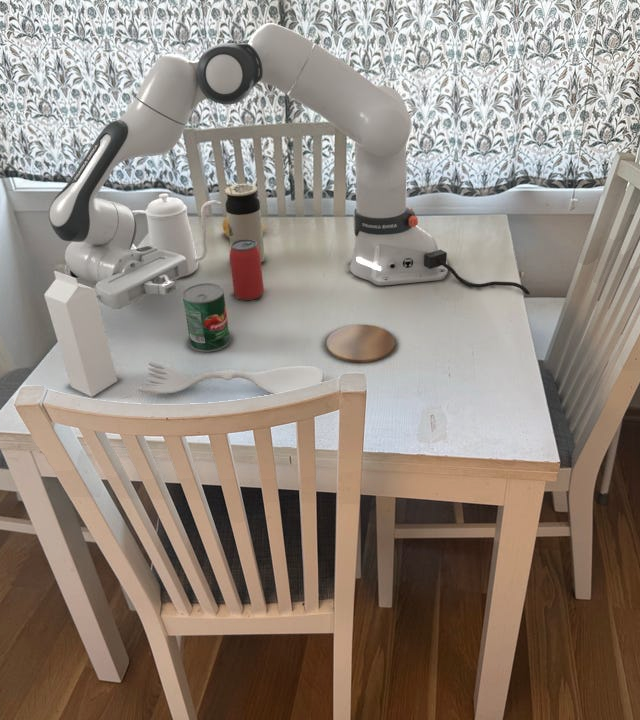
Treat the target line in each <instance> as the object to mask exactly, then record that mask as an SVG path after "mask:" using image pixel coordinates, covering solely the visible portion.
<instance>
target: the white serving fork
mask: <svg viewBox="0 0 640 720" xmlns="http://www.w3.org/2000/svg"><path fill="white" fill-rule="evenodd" d="M148 365H149V366H150V367H149V368H148V370H149V371H150V372H147V374H148V375H149V376H150V377H147V378H146V380H147V381H148V382H143V383H142V384H143V385H140V387H137V388H136V391H137V392H139V393H141V394H172V393H178V392H182V391H184V390H186V389H188V388H190V387H193V386H194V385H196V384H198V383H200V382H203V381H205V380H210V379H224V380H225V381H231V380H233V379H244V380H247V381H250V382H252V383H253V384H254V385H255V386H257V387H258V388H260V389H262V390H264V391H266V392H267V393H270V394H272V395H274V394H273V393H279V392H284V391H288V390H292V389H295V388H300V387H305V386H309V385H313V384H316V383H320V382H323V383H324V380H325V374H324V371H323V370H322V369H321V368H319V367H317V366H311V365H294V366H293V365H291V366H283V367H276V368H272V369H267V370H262V371H257V372H245V371H236V370H234V369H233V368H228V369H226V370H220V371H208V372H204V373H200V374H198V375H195V376H193V375H192V376H191V375H188V374H186V373H185V372H184V371H182V370H179V369H176V368H172V367H170V366H166V365H165V364H161V363H160V362H159V363H158V362H156V361H150V362H148Z"/></svg>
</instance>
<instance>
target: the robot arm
mask: <svg viewBox="0 0 640 720" xmlns="http://www.w3.org/2000/svg"><path fill="white" fill-rule="evenodd" d="M258 84H267V85H269V86H272V87H273V88H274V89H277V90H278V91H280V92H281V93H283V94H284V95H287V96H288V97H289V98H291V99H293V100H295V101H296V102H298V103H299V104H301V105H303V106H304V107H305V108H307V109H310V110H311V111H312V112H314V113H316V114H317V115H318V116H320V117H321V118H323V119H325V121H327V122H328V123H329V124H331V125H332V126H333V127H335V128H336V129H337V130H338V131H340V133H342V134H344V135H345V136H346V137H348V138H349V139H350V140H351V141H353V142H354V163H355V165H354V166H355V209H354V212H353V232H354V247H353V253H352V258H351V261H350V265H349V271H350V272H351V273H352V275H354V276H356V277H357V278H360V279H363V280H366V281H369V282H371V283H373V284H374V285H376V286H390V285H393V286H394V285H403V284H412V283H423V282H434V281H441V280H444V279H445V278H446V277H447V275H448V273H449V272H450V273H451V274H452V275H453V277H454V278H455V279H456V280H457V281H458V282H460V283H461V284H463V285H465V286H467V287H471V288H478V289H479V288H481V289H482V288H487V287H491V286H510V287H516V288H518V289H520V290H521V291H522V292H524V294H526V295H530V294H531V292H530V291H529V290H528V289H527V288H526V287H525V286H524V285H522V284H520V283H518V282H514V281H489V282H483V283H474V282H469V281H467V280H465V279H464V278H462V277H461V276H460V275H459V274H458V273H457V271H456V270H455V269H454V268H453V267H452V266H450V265H449V264H448V261H447V257H448V252H447V251H444V250H442V249H439V248H438V245H437V242H436V240H435V238H434V236H432V235H431V234H430V233H429V232H427V231H425V229H423V228H421V227H420V226H418V223H419V219H418V217H417V216H416V213H415V211H414V208H413V207H412V206H411V207H410V208H409V207H408V206H407V191H408V190H407V189H408V188H407V187H408V169H407V168H408V167H407V144H408V141H409V140H410V136H411V133H412V118H411V115H410V113H409V110H408V108H407V106H406V103H405V101H404V99H403V97H402V95H401V94H400V92H398V91H397V90H396V89H395V88H392V87H390V86H387V85H375V84H374V83H373V82H371V81H370V80H368V78H366V77H365V76H363V75H362V74H361V73H359V72H358V71H356V69H355V68H353V67H352V66H351V65H350V64H348V63H347V62H345V61H344V60H342V59H340V58H339V57H337V56H335V55H334V54H333V53H331V52H330V51H328V50H327V49H325V48H323V47H322V46H320V45H319V44H317V43H315V42H314V41H313V40H311V39H309V38H307V37H306V36H304V35H302V34H300V33H298V32H296V31H294V30H292V29H289V28H288V27H285V26H282V25H279V24H277V23H274V22H267V23H264V24H263V25H260V27H259V28H257V29H256V30H255V32H253V34H252V36H251V38H250V39H249V41H248V42H247V43H230V42H226V43H225V42H224V43H217V44H214V45H212V46H210V47H208V48H207V49H206V50H205V51H204V52H203V53H202V54H201V56H200V57H199V59H198V60H195V61H193V60H190V59H188V58H186V57H184V56H183V55H179V54H175V53H166V54H163V55H162V56H160V57H159V58H158V59H157V61H156V62H155V63H154V65H152V67H151V68H150V70H149V71H148V73H147V74H146V76H145V78H144V80H143V81H142V84H141V86H140V87H139V88H138V91H137V93H136V95H135V98H134V100H133V101H132V103H131V105H130V106H129V108H128V109H127V110H126V111H125V112H124V113H123V115H121V116H120V117H119V118H118V119H116V120H113V121H111V122H109V123H108V124H107V125H106V126H105V127H104V128H103V129H102V131H100V133H99V135H98V136H97V137H96V139H95V140H94V142H93V144H91V147H90V148H89V149H88V151H87V153H86V155H85V156H84V157H83V159H82V161H81V162H80V164H79V165H78V167H77V168H76V170H75V172H74V173H73V174H72V176H71V178H70V179H69V181H68V182H67V184H66V185H65V186H64V187H63V188H62V190H60V191H59V192H58V194H56V196H55V197H54V199H53V200H52V202H51V204H50V206H49V209H48V221H49V224H50V226H51V228H52V230H53V232H54V233H55V234H56V236H57V237H58V238H59V239H60V240H63V241H64V242H70V243H69V244H68V245H67V247H66V249H65V251H64V260H65V263H66V266H67V267H68V269H69V270H70V272H71V273H72V274H73V275H75V276H76V277H78V278H79V279H81V280H82V281H86V282H87V283H90V284H92V285H93V286H90V287H91V288H94V289H95V291H96V296H97V300H98V302H100V303H101V304H103V305H104V306H106V307H108V308H110V309H112V310H119V309H123V308H124V307H126V306H128V305H130V304H132V303H135V302H136V301H138V300H139V299H141V298H143V297H146V296H147V295H162V296H166V295H168V294H169V293H171V292H173V291H175V290H176V289H177V286H176V283H175V281H176V280H178V279H180V278H183V277H182V276H184V275H186V274H187V273H188V264H187V260H186V258H185V257H184V256H182V255H180V254H177V253H174V252H170V251H166V250H158V249H157V247H156V246H152V245H151V246H150V245H147V246H142V247H138V248H137V249H131V247H132V245H133V244H134V242H135V240H136V235H137V220H136V217H135V215H134V214H135V213H133V212H132V211H133V210H132V209H131V208H130V207H129V206H128V205H126V204H122V203H118V202H115V201H111V200H107V199H104V198H100V197H97V195H98V194H99V192H100V191H101V189H102V188H103V186H104V184H105V183H106V182H107V180H108V178H109V177H110V176H111V174H112V173H113V172H114V171H113V170H115V168H116V167H117V166H119V164H120V163H123V162H124V161H128V160H131V159H134V158H140V157H155V156H160V155H163V154H166V153H168V152H170V151H171V150H173V148H175V146H176V145H177V143H178V142H179V141H180V140H181V137H182V135H183V134H184V131H185V130H186V127H187V125H188V123H189V121H190V119H191V117H192V115H193V113H194V111H195V109H196V107H198V105H199V104H200V103H201V102H203V101H205V100H210V101H212V102H214V103H216V104H219V105H225V106H229V105H230V106H231V105H236V104H238V103H240V102H242V101H243V100H244V99H247V97H248V96H249V94H250V93H251V91H252V90H253V89H254V88H255V87H256V85H258ZM184 277H185V276H184Z"/></svg>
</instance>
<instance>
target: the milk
mask: <svg viewBox="0 0 640 720" xmlns="http://www.w3.org/2000/svg"><path fill="white" fill-rule="evenodd" d="M53 273H54V276H55V279H54V281H53V282H52V284H51V285H50V286H49V287H48V289H47V290H46V292H45V293H44V294H43V296H44V299H45V303H46V306H47V309H48V313H49V317H50V319H51V323H52V327H53V330H54V333H55V337H56V340H57V343H58V347H59V350H60V354H61V357H62V361H63V364H64V367H65V372H66V374H67V378H68V381H69V385H70V387H71V388H73V389H75V390H76V391H78V392H80V393H83V394H85V395H87V396H89V397H91V398H93V397H94V396H96V395H97V394H99V393H100V392H102V391H104V390H106V389H108V388H109V387H110V386H112V385H113V384H116V383H117V382H118V377H117V372H116V369H115V365H114V361H113V357H112V353H111V349H110V346H109V340H108V337H107V332H106V329H105V325H104V320H103V316H102V312H101V308H100V304H99V299H98V298H97V296H96V291H95V289H94V288H91V287H92V286H87V285H85V284H83V283H79V282H78V280H77V278H76V277H74V276H71V275H68V274H65V273H63V272H60V271H57V270H54V271H53Z"/></svg>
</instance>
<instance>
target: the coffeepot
mask: <svg viewBox="0 0 640 720" xmlns="http://www.w3.org/2000/svg"><path fill="white" fill-rule="evenodd" d="M221 204H222V202H220V201H219V200H214V199H213V200H207V201H206V202H205V203H203V205H202V206H201V209H200V216H201V217H200V218H201V219H200V221H201V236H202V254H200V256H198V255H197V251H196V248H195V247H196V246H195V243H194V237H193V234H192V229H191V225H190V221H189V216H188V212H187V211H188V208H187V205H186V204H185V203H184V202H183V200H182V199H179V198H177V197H169V194H168V193H166V192H165V193H160V194H159V195H158V198H157V199H154V200H152V201H151V202H149V203H148V205H147V207H146V209H145V210H143V209H135V210H131V211H132V212H133V214H134V216H136V215H139V214H141V215H145V216H146V220H147V229H148V238H149V246H151V245H152V246H156V247H157V249H158V250H166V251H170V252H174V253H177V254H180V255H182V256H184V257H185V258H186V260H187V264H188V273H187V274H186V275H184V276H182V277H181V278H184V277H187V276H190V275H191V274H193V273H195V272H196V270H197V269H198V267H199V262H201V261H202V260H204V259H205V258H206V256H207V252H208V245H207V244H208V243H207V227H206V226H207V225H206V209H207V207H209V206H212V205H221ZM131 249H138V248H137V247H136V246H135V244H134V243H133V245H132V247H131Z"/></svg>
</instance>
